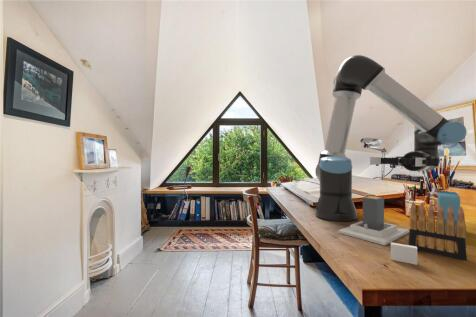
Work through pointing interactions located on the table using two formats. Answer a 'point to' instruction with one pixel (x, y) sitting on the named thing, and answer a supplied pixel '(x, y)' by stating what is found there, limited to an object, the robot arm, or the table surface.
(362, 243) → the table surface
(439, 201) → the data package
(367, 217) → the grey upright block
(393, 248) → the eraser
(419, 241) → the ammunition clip
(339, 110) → the robot arm
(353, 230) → the dock tray
